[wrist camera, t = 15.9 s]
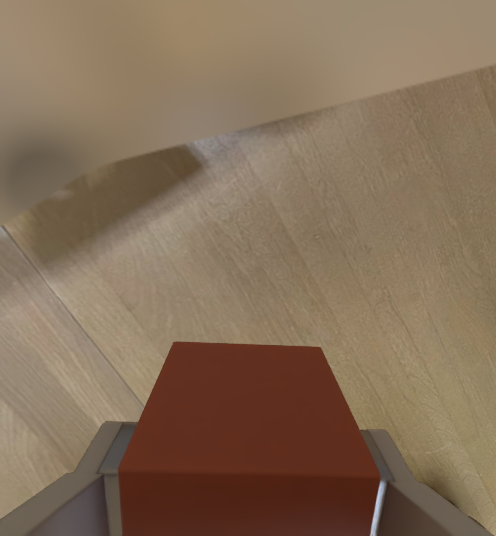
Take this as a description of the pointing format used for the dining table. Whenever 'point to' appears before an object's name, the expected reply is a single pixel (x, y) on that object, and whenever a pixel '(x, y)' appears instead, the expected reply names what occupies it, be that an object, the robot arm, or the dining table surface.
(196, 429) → the block
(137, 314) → the dining table surface
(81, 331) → the dining table surface
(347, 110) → the dining table surface
